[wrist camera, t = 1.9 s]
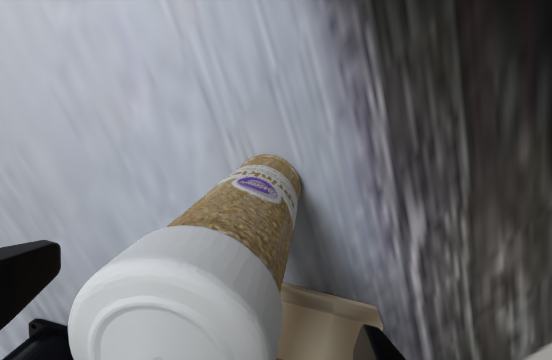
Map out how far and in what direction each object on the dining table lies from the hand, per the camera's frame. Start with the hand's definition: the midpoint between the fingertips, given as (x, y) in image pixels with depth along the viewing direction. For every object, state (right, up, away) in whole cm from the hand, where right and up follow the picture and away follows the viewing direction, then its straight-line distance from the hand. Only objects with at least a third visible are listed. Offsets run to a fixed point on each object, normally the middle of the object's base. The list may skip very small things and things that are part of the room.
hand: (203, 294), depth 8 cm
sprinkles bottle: (+2, +3, +11) cm, 11 cm away
